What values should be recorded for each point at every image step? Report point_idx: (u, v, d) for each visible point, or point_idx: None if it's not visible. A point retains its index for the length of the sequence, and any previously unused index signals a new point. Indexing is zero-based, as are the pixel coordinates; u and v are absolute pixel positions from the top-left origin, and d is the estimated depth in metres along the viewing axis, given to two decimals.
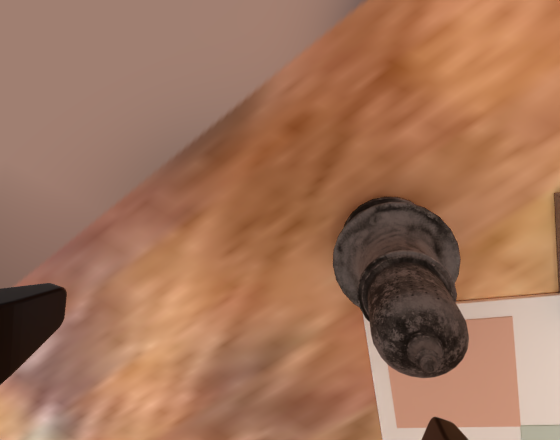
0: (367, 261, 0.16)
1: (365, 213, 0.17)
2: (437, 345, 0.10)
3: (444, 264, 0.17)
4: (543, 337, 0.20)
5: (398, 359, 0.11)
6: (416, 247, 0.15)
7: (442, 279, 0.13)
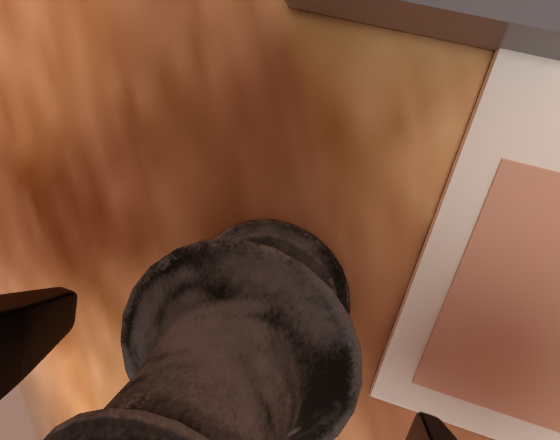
0: None
1: (126, 362, 0.09)
2: None
3: (260, 288, 0.08)
4: None
5: None
6: (147, 360, 0.07)
7: None
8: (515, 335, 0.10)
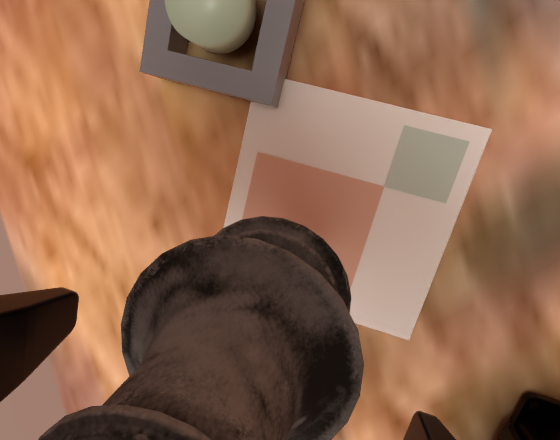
0: None
1: (130, 371, 0.09)
2: None
3: (248, 280, 0.08)
4: (289, 131, 0.19)
5: None
6: (141, 363, 0.07)
7: None
8: None
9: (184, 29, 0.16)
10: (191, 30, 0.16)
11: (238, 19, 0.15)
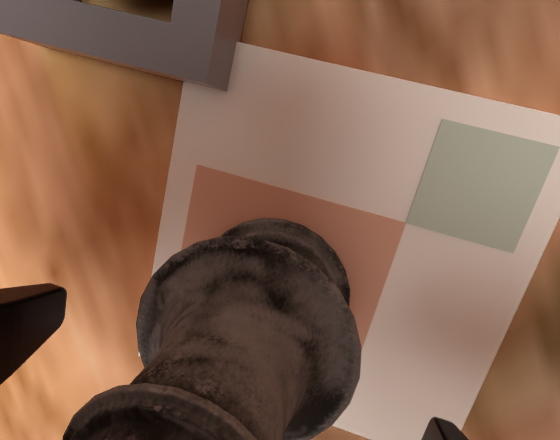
0: None
1: (147, 294, 0.09)
2: None
3: (311, 317, 0.08)
4: (246, 130, 0.12)
5: None
6: (203, 334, 0.07)
7: (193, 434, 0.05)
8: None
9: None
10: None
11: None
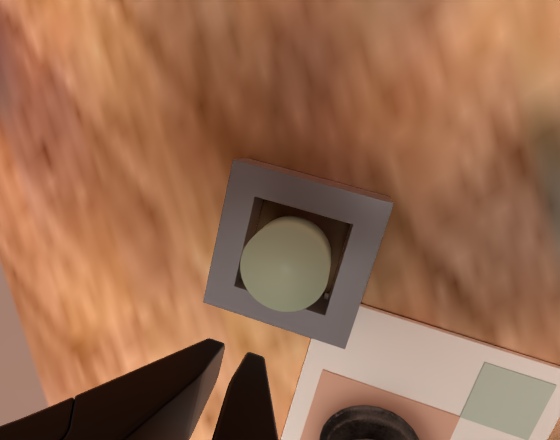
0: None
1: None
2: None
3: None
4: (357, 353, 0.18)
5: None
6: None
7: None
8: None
9: (260, 296, 0.15)
10: (268, 297, 0.15)
11: (320, 294, 0.14)
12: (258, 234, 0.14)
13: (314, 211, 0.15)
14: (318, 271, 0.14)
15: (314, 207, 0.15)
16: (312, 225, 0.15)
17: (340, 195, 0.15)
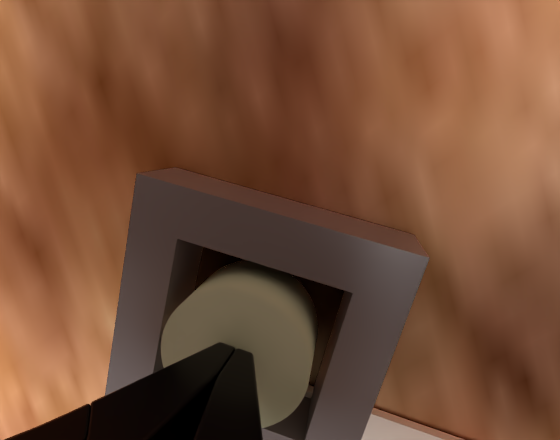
0: None
1: None
2: None
3: None
4: None
5: None
6: None
7: None
8: None
9: None
10: None
11: (295, 405, 0.08)
12: (188, 301, 0.08)
13: (282, 267, 0.08)
14: (291, 367, 0.08)
15: (282, 260, 0.08)
16: (285, 279, 0.09)
17: (329, 240, 0.08)
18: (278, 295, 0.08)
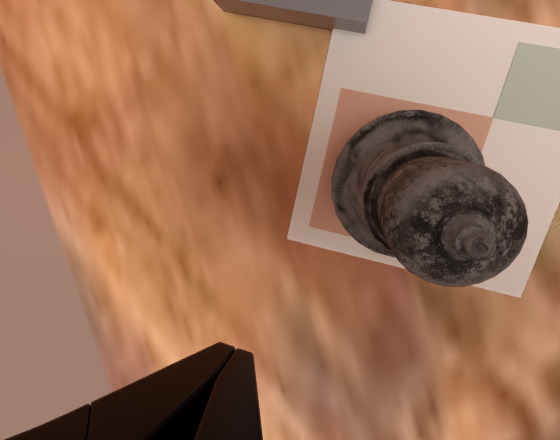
0: None
1: (342, 155, 0.14)
2: (477, 217, 0.07)
3: None
4: (378, 60, 0.17)
5: (445, 269, 0.07)
6: None
7: (453, 157, 0.10)
8: None
9: None
10: None
11: None
12: None
13: None
14: None
15: None
16: None
17: None
18: None
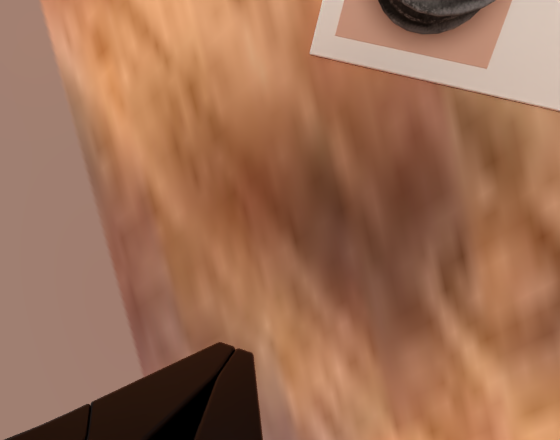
0: None
1: None
2: None
3: None
4: None
5: None
6: None
7: None
8: None
9: None
10: None
11: None
12: None
13: None
14: None
15: None
16: None
17: None
18: None
